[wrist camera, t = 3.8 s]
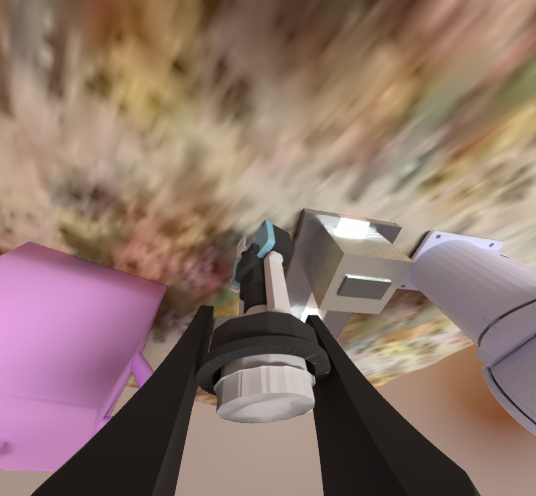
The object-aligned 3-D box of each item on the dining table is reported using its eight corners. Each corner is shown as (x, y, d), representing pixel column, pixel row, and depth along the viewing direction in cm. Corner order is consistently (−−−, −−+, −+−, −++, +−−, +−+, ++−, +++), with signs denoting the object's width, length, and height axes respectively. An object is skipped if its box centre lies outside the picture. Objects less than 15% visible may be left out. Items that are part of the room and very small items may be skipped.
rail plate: (395, 223, 20) (446, 256, 15) (321, 355, 32) (335, 400, 27) (303, 208, 19) (324, 239, 13) (262, 353, 30) (263, 399, 25)
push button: (259, 288, 18) (266, 437, 10) (204, 266, 16) (157, 433, 8) (306, 237, 15) (371, 394, 7) (245, 201, 13) (236, 368, 5)
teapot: (-74, 207, 16) (-957, 411, 4) (208, 298, 24) (164, 465, 12) (-41, 316, 23) (-366, 521, 11) (174, 361, 30) (122, 511, 18)
